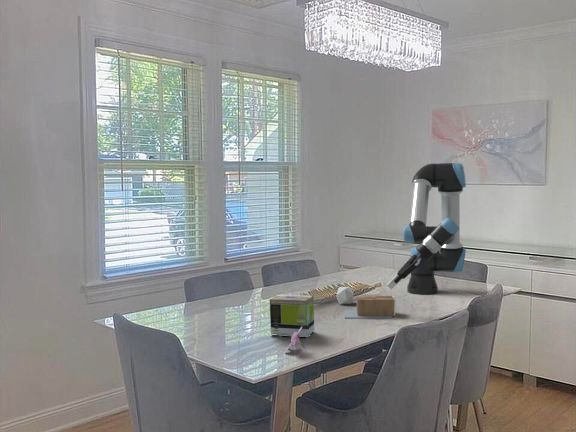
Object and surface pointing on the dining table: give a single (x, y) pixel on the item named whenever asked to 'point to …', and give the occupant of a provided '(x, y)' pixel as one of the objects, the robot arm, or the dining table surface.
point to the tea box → (292, 314)
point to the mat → (354, 315)
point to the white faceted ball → (344, 295)
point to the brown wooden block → (375, 306)
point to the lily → (295, 339)
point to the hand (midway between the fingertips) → (389, 287)
